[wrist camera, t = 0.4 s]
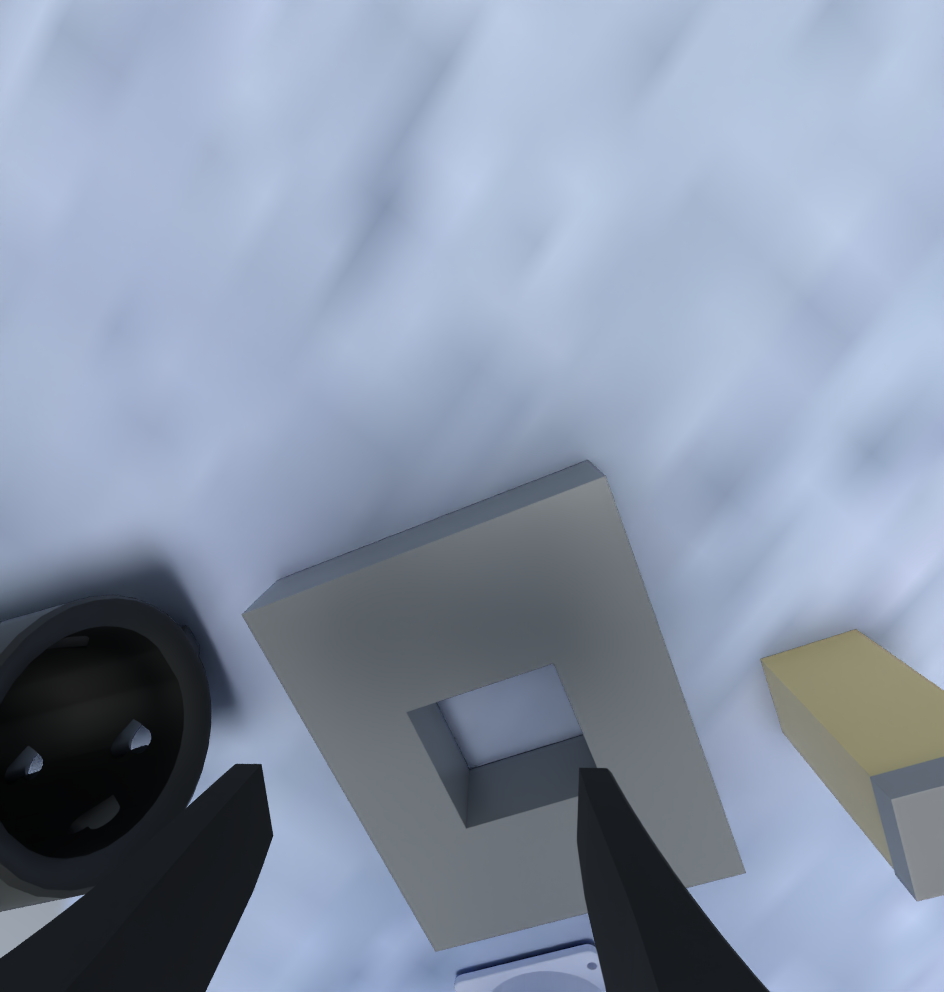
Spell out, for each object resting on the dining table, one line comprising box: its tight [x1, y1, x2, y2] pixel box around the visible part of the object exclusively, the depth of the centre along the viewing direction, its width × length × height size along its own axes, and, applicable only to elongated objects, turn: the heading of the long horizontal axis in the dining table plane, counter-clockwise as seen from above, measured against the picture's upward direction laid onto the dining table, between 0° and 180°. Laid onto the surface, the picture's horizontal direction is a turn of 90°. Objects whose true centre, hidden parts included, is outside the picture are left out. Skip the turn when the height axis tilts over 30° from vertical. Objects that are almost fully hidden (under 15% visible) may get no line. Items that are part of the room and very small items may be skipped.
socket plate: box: [242, 460, 746, 952], centre depth 20 cm, size 18×14×3 cm
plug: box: [761, 629, 944, 901], centre depth 17 cm, size 4×4×7 cm
